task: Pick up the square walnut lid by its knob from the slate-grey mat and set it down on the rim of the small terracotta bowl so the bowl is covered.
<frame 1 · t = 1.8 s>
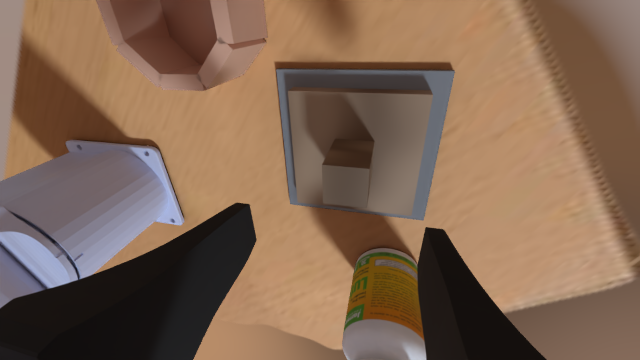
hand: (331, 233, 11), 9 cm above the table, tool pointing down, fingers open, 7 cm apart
lid: (355, 151, 18), resting on mat
mat: (356, 148, 18), on the table
supplement bottle: (386, 267, 24), on the table
bowl: (209, 13, 16), on the table
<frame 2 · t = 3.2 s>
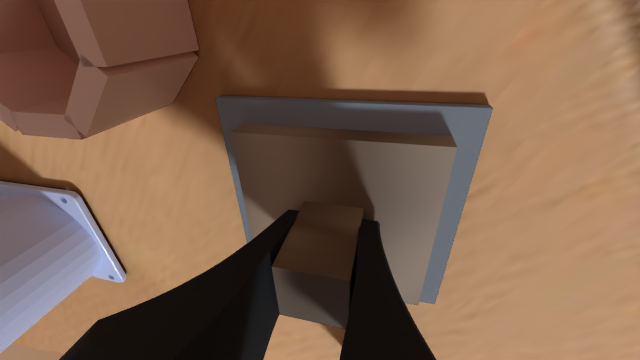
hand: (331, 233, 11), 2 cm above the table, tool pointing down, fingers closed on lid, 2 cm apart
lid: (337, 213, 12), resting on mat, touching gripper
mat: (339, 208, 13), on the table
bowl: (111, 13, 11), on the table
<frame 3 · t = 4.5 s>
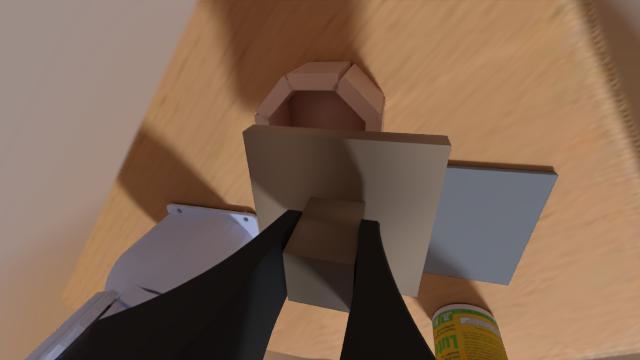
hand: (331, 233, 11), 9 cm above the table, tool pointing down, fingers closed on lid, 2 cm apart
lid: (341, 209, 13), point 7 cm above the table, touching gripper
mat: (451, 225, 21), on the table
supplement bottle: (462, 318, 26), on the table
bowl: (330, 117, 19), on the table
when the fingers open (7 cm above the table, at t = 5.4 s): lid stays where it is, resting on bowl.
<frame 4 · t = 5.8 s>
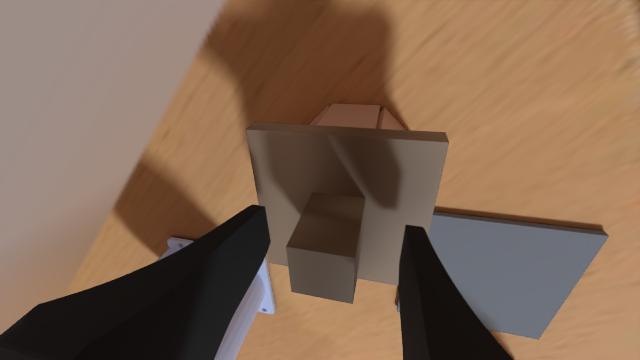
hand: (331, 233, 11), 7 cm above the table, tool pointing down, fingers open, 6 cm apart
lid: (342, 204, 14), point 4 cm above the table, touching bowl
mat: (480, 276, 19), on the table
bowl: (353, 161, 17), on the table
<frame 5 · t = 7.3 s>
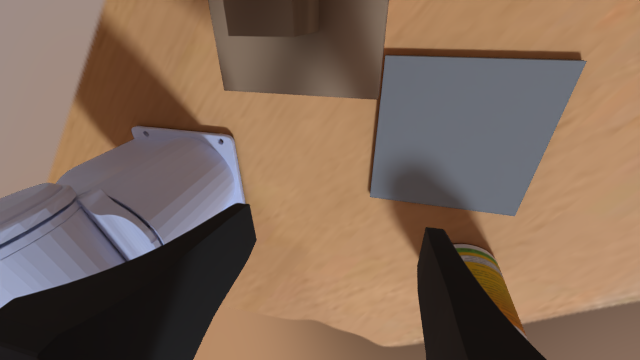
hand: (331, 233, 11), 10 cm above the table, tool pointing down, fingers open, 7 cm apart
mat: (454, 140, 18), on the table
supplement bottle: (459, 264, 23), on the table
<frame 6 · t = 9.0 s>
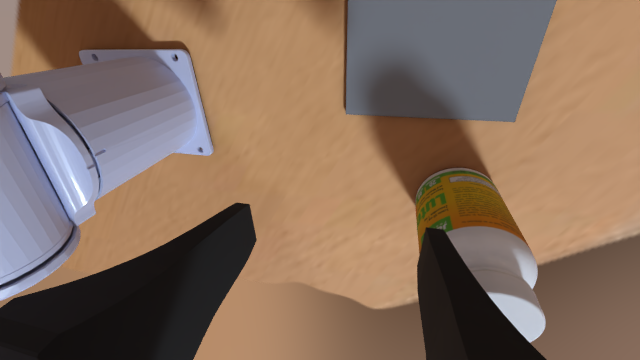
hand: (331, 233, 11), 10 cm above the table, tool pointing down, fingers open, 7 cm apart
mat: (439, 26, 15), on the table
supplement bottle: (453, 196, 20), on the table
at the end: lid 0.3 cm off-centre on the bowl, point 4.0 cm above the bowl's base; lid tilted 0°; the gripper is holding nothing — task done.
